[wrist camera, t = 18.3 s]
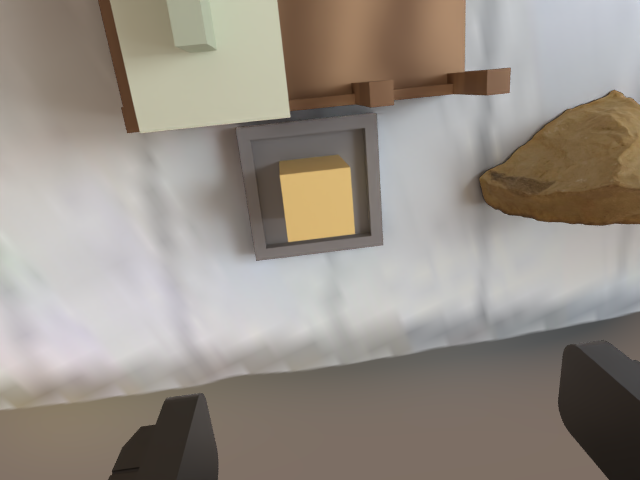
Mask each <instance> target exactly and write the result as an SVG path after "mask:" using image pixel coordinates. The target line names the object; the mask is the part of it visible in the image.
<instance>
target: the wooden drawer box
mask: <svg viewBox="0 0 640 480" xmlns="http://www.w3.org/2000/svg"><path fill="white" fill-rule="evenodd" d="M465 1H466V0H277V3H278V12H279V21H280V29H281V38H282V47H283V56H284V65H285V73H286V82H287V91H288V100H289V109H290V111H296V110H306V109H315V108H325V107H334V106H344V105H353V104H356V105H361V106H366V107H380V106H390V105H394V100H401V99H411V98H420V97H430V96H440V95H449V94H465V95H495V94H504V93H510V72H511V68H502V69H490V70H479V71H467V72H464V70H465ZM98 2H99V6H100V11H101V15H102V19H103V23H104V28H105V32H106V36H107V40H108V45H109V49H110V53H111V57H112V61H113V66H114V70H115V74H116V78H117V83H118V87H119V91H120V95H121V100H122V104H123V107H121V109H122V113H123V117H124V122H125V126H126V130H127V133H133V132H140V131H139V126H138V122H137V118H136V113H135V109H134V104H133V100H132V96H131V91H130V87H129V82H128V78H127V74H126V69H125V65H124V60H123V56H122V52H121V47H120V43H119V39H118V34H117V30H116V25H115V21H114V17H113V12H112V8H111V3H110V0H98Z"/></svg>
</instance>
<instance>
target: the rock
mask: <svg viewBox="0 0 640 480" xmlns="http://www.w3.org/2000/svg"><path fill="white" fill-rule="evenodd" d="M479 181H480V185H481V188H482V193H483V197H484V199H485V202H486V203H487V204H488V205H490V206H491V207H493V208H494V209H498V210H501V211H502V212H503V213H505V214H508V215H515V216H522V217H527V218H533V219H535V220H537V221H544V222H564V223H569V224H584V225H599V226H603V225H610V224H615V223H616V224H640V105H639V104H638V103H637V102H636V101H634V99H632V98H626V97H625V96H624V95H623V93H621V92H618V91H616V90H613V91H611V92H610V93H609V94H608V95H607V96H606V97H603V98H600V99H598V100H595V101H592V102H590V103H588V104H583V105H580V106H577V107H575V108H573V109H567V110H566V111H565V112H564V113H563V114H562V115H560V116H559V117H558V118H556V119H554V120H553V121H551V122H549V123H548V124H546V125H545V126H544V128H543V129H541V130H540V131H539V132H537V133H536V134H535V135H534V137H533V138H532V139H531V140H530V141H528V142H527V143H526V144H525V145H523V146H521V147H519V148H518V149H517V150H516V151H515V152H514V153H513V154H512V156H511V157H510V158H509V159H508V160H507V161H506V162H505V163H503V164H501V165H498V166H496V167H494V168H492V169H489V170H488V171H486V172H485V173H484V174H483V175H482V176H481V177H480V178H479Z"/></svg>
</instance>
